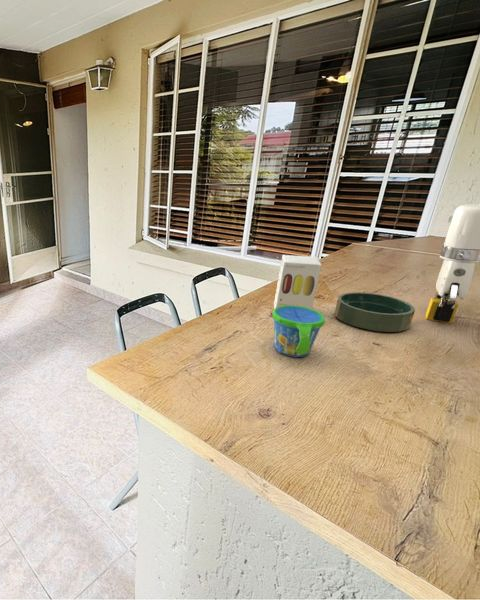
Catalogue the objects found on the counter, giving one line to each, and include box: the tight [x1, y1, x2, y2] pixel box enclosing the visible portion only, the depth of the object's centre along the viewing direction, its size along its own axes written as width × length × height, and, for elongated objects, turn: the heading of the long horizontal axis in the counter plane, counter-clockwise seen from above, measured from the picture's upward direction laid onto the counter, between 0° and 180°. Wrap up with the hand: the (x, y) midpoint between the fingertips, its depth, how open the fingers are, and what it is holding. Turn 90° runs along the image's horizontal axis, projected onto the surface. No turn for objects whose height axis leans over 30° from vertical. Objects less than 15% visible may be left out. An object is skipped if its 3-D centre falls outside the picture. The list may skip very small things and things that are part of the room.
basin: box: [333, 291, 416, 333], centre depth 98 cm, size 17×17×6 cm
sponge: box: [425, 297, 459, 324], centre depth 97 cm, size 5×3×6 cm, turn 52°
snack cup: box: [272, 306, 326, 358], centre depth 85 cm, size 16×10×10 cm
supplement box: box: [273, 254, 322, 310], centre depth 104 cm, size 10×9×17 cm
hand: (439, 315), depth 97 cm, fingers open, 6 cm apart
